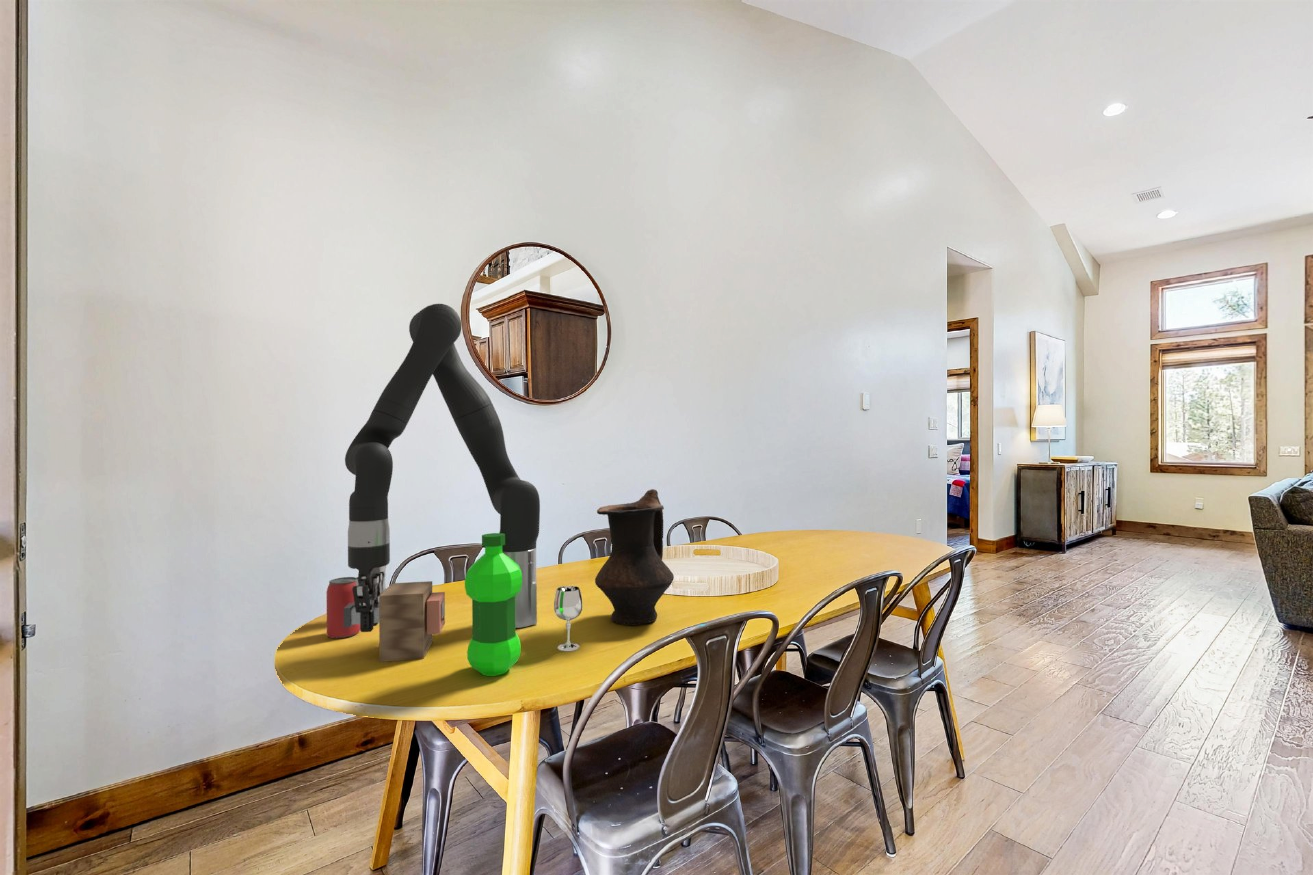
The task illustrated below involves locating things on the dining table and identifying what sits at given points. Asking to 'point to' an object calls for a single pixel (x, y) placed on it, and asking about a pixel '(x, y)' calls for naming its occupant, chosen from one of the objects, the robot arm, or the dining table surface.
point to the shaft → (354, 617)
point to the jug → (635, 560)
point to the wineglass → (568, 610)
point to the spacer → (435, 613)
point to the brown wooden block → (404, 621)
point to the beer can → (340, 607)
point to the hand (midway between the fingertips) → (369, 627)
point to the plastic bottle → (493, 608)
